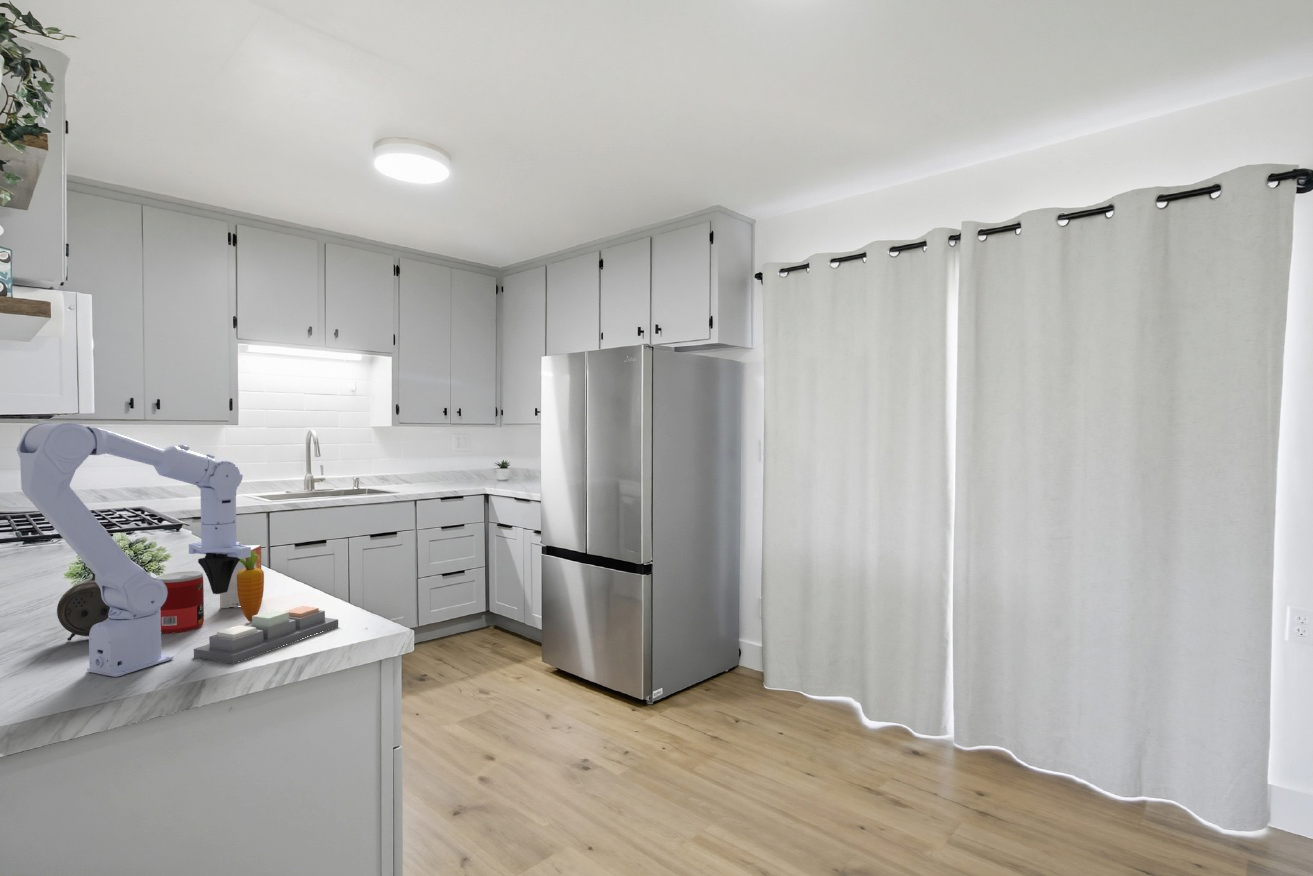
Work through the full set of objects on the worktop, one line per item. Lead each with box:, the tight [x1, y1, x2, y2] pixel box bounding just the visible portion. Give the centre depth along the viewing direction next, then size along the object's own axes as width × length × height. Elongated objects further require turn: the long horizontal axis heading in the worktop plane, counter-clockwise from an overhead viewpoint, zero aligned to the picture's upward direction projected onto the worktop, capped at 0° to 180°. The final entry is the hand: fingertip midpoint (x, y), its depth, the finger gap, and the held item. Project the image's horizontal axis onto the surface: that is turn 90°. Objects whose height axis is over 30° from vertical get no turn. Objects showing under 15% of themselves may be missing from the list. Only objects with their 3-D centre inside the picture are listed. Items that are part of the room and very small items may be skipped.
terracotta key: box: [283, 605, 320, 618], centre depth 136 cm, size 4×4×2 cm
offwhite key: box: [216, 624, 256, 639], centre depth 123 cm, size 4×4×2 cm
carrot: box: [237, 551, 265, 623], centre depth 142 cm, size 5×5×15 cm
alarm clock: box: [56, 563, 110, 641], centre depth 131 cm, size 11×5×16 cm, turn 114°
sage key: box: [251, 609, 289, 628], centre depth 130 cm, size 4×4×2 cm
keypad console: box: [193, 609, 339, 665], centre depth 130 cm, size 23×10×4 cm, turn 159°
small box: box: [219, 544, 262, 609], centre depth 157 cm, size 8×6×13 cm
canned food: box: [156, 570, 205, 634], centre depth 138 cm, size 8×8×11 cm
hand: (220, 592), depth 130 cm, fingers closed
